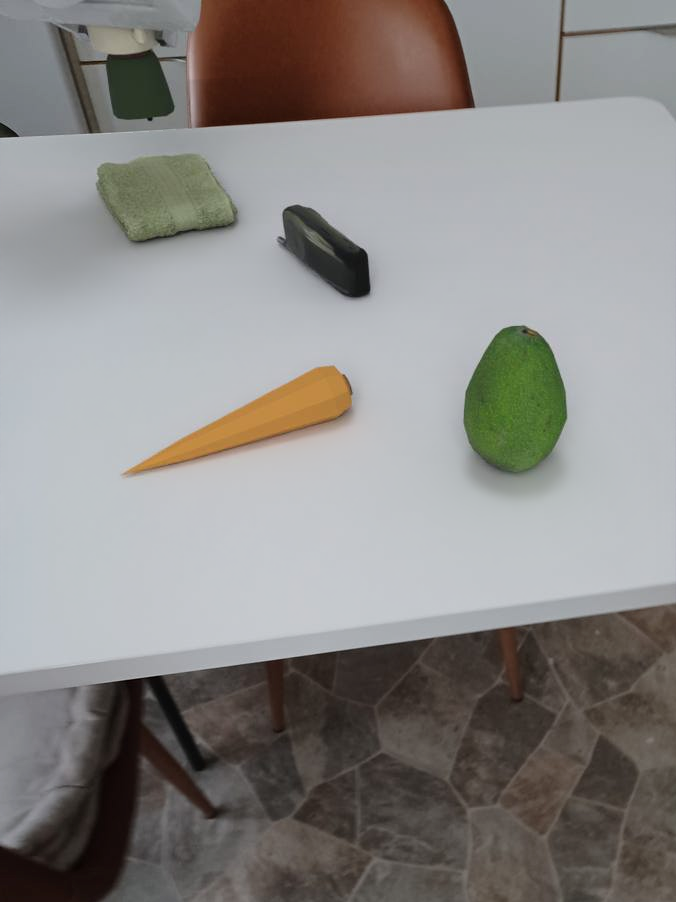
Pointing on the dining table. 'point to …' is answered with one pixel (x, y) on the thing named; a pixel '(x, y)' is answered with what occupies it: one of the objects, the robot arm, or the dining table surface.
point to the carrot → (265, 417)
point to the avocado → (515, 401)
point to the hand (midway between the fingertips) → (129, 37)
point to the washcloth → (164, 195)
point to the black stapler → (326, 250)
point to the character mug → (133, 72)
